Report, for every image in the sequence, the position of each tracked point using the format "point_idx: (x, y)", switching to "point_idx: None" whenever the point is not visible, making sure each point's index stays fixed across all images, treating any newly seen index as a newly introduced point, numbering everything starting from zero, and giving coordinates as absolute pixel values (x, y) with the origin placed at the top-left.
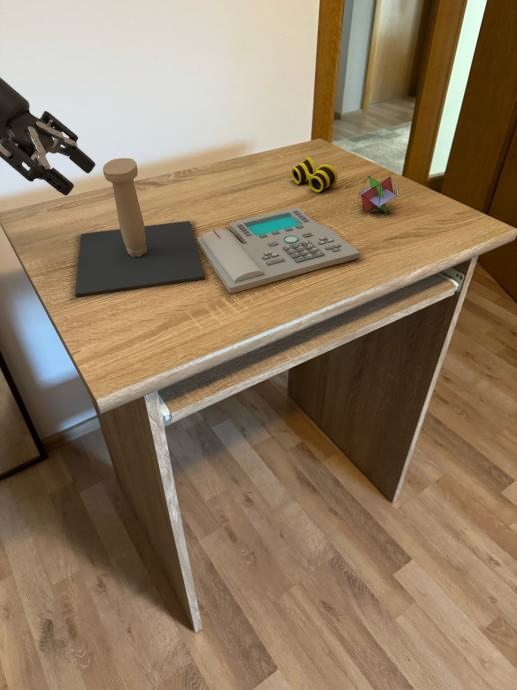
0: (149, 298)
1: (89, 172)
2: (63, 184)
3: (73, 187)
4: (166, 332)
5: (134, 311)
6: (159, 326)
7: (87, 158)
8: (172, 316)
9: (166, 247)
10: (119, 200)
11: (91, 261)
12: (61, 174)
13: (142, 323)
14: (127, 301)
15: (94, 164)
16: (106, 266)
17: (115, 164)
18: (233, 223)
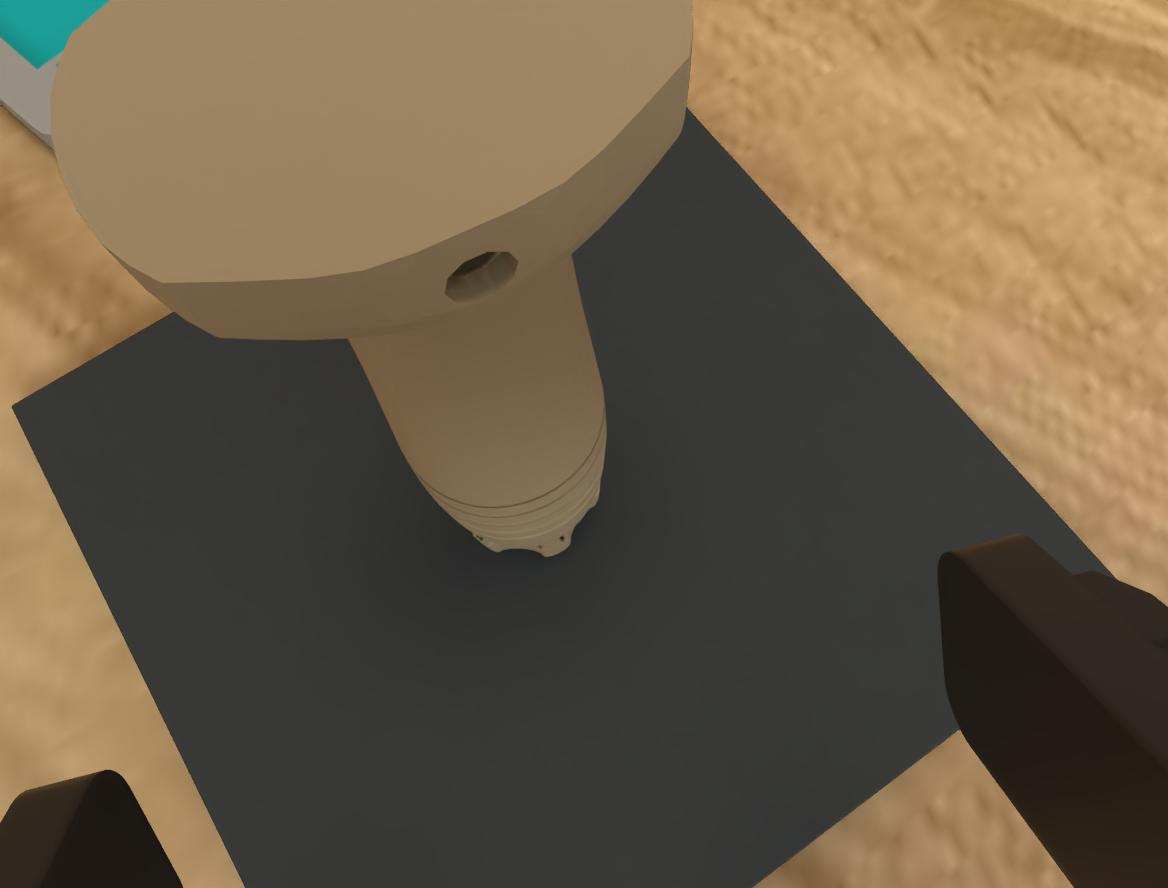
0: (908, 213)
1: (174, 885)
2: (1131, 610)
3: (941, 573)
4: (1099, 20)
5: (1045, 221)
6: (1080, 64)
7: (27, 884)
8: (983, 51)
9: None
10: (576, 288)
11: (749, 752)
12: (1097, 675)
13: (1105, 139)
14: (990, 299)
15: (70, 779)
16: (762, 602)
17: (330, 126)
18: (44, 117)
